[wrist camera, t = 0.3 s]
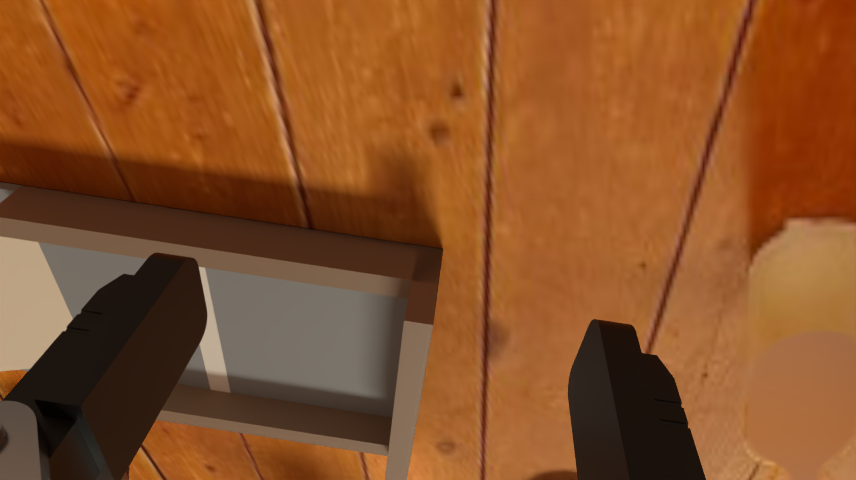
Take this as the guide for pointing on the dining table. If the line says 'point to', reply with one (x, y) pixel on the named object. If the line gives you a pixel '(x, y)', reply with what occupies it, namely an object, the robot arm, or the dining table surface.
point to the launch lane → (240, 314)
